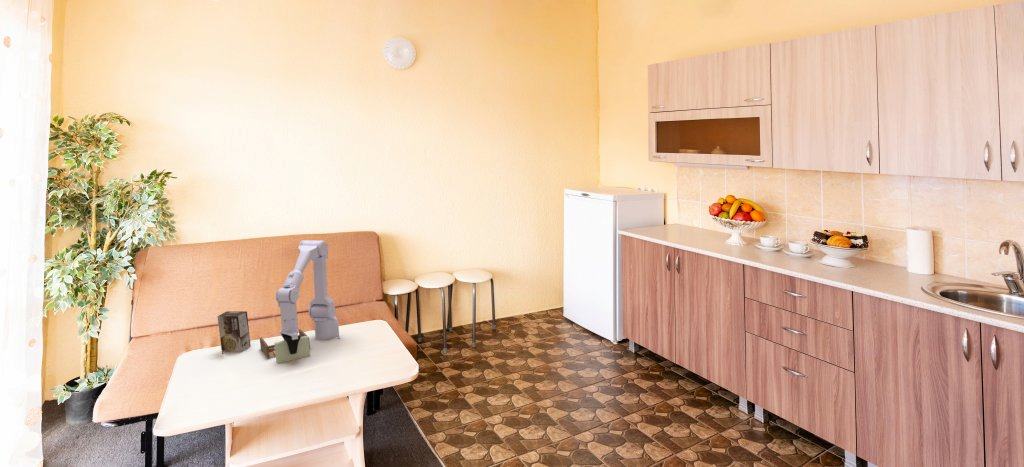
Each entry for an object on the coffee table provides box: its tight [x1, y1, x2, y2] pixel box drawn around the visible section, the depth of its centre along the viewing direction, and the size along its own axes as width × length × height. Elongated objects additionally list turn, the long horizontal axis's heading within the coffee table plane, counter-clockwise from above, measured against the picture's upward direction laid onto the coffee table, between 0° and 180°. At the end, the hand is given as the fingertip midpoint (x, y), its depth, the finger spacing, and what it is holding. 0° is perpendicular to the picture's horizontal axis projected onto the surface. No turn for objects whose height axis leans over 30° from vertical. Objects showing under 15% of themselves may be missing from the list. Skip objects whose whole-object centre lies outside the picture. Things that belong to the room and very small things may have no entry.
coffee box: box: [217, 310, 252, 355], centre depth 215 cm, size 9×6×16 cm
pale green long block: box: [274, 335, 311, 364], centre depth 204 cm, size 12×2×8 cm, turn 125°
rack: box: [259, 328, 311, 360], centre depth 214 cm, size 16×13×6 cm
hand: (292, 352), depth 204 cm, fingers open, 3 cm apart
